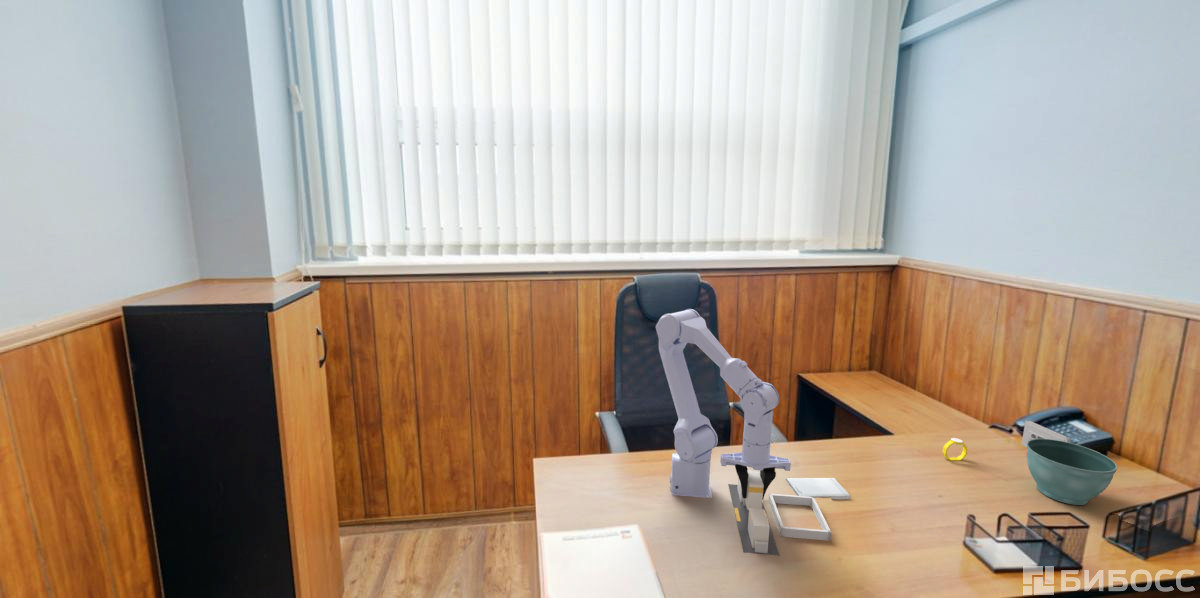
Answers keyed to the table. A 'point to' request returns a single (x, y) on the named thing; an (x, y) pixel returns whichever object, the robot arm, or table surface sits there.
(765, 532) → the block
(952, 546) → the table surface
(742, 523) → the block
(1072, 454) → the teal green bowl
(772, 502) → the tray
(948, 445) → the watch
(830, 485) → the hard drive
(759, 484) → the block
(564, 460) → the table surface
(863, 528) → the table surface
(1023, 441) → the cassette
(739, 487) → the block
